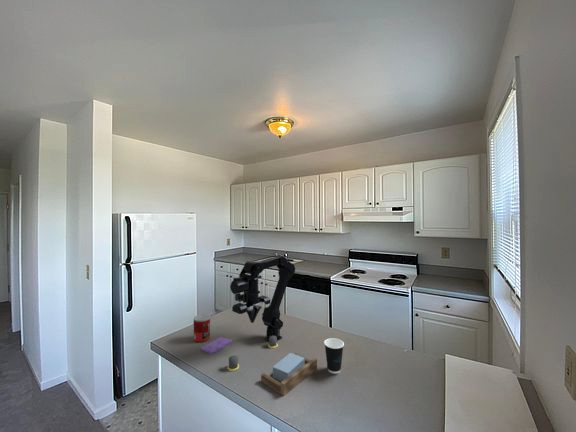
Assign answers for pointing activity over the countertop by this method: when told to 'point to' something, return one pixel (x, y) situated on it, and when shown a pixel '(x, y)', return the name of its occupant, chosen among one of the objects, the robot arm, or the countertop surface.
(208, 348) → the sponges
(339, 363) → the dixie cup
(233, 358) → the bollards
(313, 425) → the countertop surface
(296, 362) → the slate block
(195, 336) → the canned food
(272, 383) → the bay
